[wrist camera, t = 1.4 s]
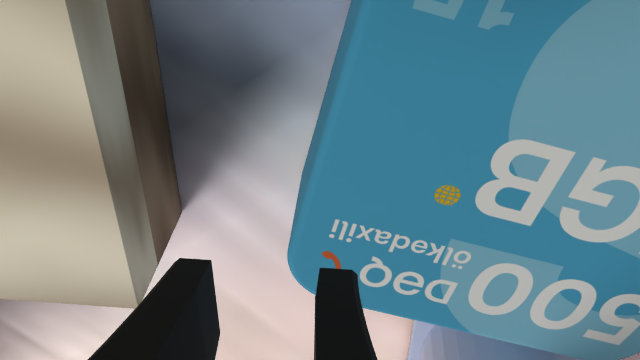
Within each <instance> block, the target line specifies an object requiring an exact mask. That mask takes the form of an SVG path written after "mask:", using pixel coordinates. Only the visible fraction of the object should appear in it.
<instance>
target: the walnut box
mask: <svg viewBox="0 0 640 360" xmlns="http://www.w3.org/2000/svg"><path fill="white" fill-rule="evenodd" d="M106 4H107V9H108V14H109V19H110V24H111V30H112V35H113V40H114V45H115V50H116V55H117V60H118V65H119V70H120V75H121V80H122V85H123V90H124V96H125V101H126V106H127V111H128V116H129V121H130V126H131V131H132V136H133V141H134V146H135V151H136V156H137V162H138V167H139V172H140V177H141V182H142V187H143V192H144V197H145V202H146V207H147V212H148V217H149V222H150V228H151V233H152V238H153V243H154V248H155V253H156V258H157V263H158V264H159V262H160V260H161V257H162V255H163V253H164V251H165V249H166V246H167V244H168V242H169V240H170V237H171V235H172V233H173V231H174V229H175V226H176V224H177V222H178V220H179V218H180V215H181V213H182V209H181V203H180V196H179V190H178V183H177V177H176V170H175V164H174V157H173V151H172V144H171V138H170V131H169V125H168V118H167V112H166V105H165V99H164V92H163V85H162V79H161V72H160V66H159V59H158V53H157V46H156V40H155V33H154V27H153V20H152V14H151V7H150V1H149V0H106Z"/></svg>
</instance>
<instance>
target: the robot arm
mask: <svg viewBox="0 0 640 360" xmlns="http://www.w3.org/2000/svg"><path fill="white" fill-rule="evenodd" d="M219 336H220V328H219V320H218V312H217V303H216V295H215V287H214V279H213V271H212V263H211V260H200V259H185V258H179V259H178V260H177V261H176V262H174V264H173V265H172V266H171V267H170V269H169V270H168V271H167V272H166V273H165V275H164V276H163V277H162V278H161V279H160V281H159V282H158V283H157V284H156V285H155V287H154V288H153V289H152V290H151V291H150V292H149V294H148V295H147V296H146V297H145V298H144V299H143V301H142V302H141V303H140V304H139V305H138V306H137V307H136V309H135V310H134V311H133V312H132V313H131V314H130V315H129V316H128V318H127V319H126V320H125V321H124V322H123V323H122V324H121V325H120V326H119V327H118V328H117V329H116V331H115V332H114V333H113V334H112V335H111V336H110V337H109V338H108V339H107V340H106V341H105V343H104V344H103V345H102V346H101V347H100V348H99V349H98V350H97V351H96V352H95V353H94V354H93V355H92V356H91V357H90V358H89V359H88V360H215V356H216V351H217V346H218V341H219ZM314 360H377V357H376V354H375V351H374V348H373V345H372V342H371V339H370V335H369V332H368V329H367V325H366V321H365V317H364V313H363V309H362V304H361V299H360V294H359V286H358V275H357V274H356V273H355V272H354V271H353V270H349V269H334V268H320V269H319V275H318V282H317V289H316V296H315V341H314ZM407 360H582V359H578V358H574V357H569V356H565V355H561V354H557V353H552V352H548V351H544V350H540V349H535V348H531V347H527V346H523V345H519V344H514V343H510V342H506V341H502V340H497V339H493V338H489V337H485V336H480V335H476V334H472V333H468V332H464V331H459V330H455V329H451V328H447V327H442V326H438V325H434V324H430V323H425V322H421V321H417V320H413V325H412V332H411V338H410V344H409V350H408V356H407Z"/></svg>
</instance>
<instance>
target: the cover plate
mask: <svg viewBox="0 0 640 360" xmlns="http://www.w3.org/2000/svg"><path fill="white" fill-rule="evenodd" d="M157 266H158V263H157V258H156V253H155V248H154V243H153V238H152V233H151V228H150V222H149V217H148V212H147V207H146V202H145V197H144V192H143V187H142V182H141V177H140V172H139V167H138V162H137V156H136V151H135V146H134V141H133V136H132V131H131V126H130V121H129V116H128V111H127V106H126V101H125V96H124V90H123V85H122V80H121V75H120V70H119V65H118V60H117V55H116V50H115V45H114V40H113V35H112V30H111V24H110V19H109V14H108V9H107V4H106V0H0V299H10V300H24V301H38V302H51V303H65V304H79V305H93V306H107V307H121V308H135V309H136V307H137V306H138V305H139V304H140V303H141V302H142V299H143V297H144V295H145V293H146V291H147V288H148V286H149V284H150V282H151V280H152V277H153V275H154V273H155V271H156V268H157Z"/></svg>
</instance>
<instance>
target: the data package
mask: <svg viewBox="0 0 640 360" xmlns="http://www.w3.org/2000/svg"><path fill="white" fill-rule="evenodd" d="M288 264H289V267H290V270H291V272H292V274H293V276H294V277H295V279H296V280H297V281H298V282H299V283H300V284H301V285H302V286H303V287H304V288H305V289H306V290H308V291H310V292H311V293H313V294H315V295H316V289H317V282H318V275H319V269H320V268H334V269H349V270H353V271H354V272H355V273H356V274H357V275H358V286H359V294H360V299H361V304H362V308H366V309H370V310H375V311H379V312H383V313H387V314H392V315H396V316H400V317H404V318H408V319H413V320H417V321H421V322H425V323H430V324H434V325H438V326H442V327H447V328H451V329H455V330H459V331H464V332H468V333H472V334H476V335H480V336H485V337H489V338H493V339H497V340H502V341H506V342H510V343H514V344H519V345H523V346H527V347H531V348H535V349H540V350H544V351H548V352H552V353H557V354H561V355H565V356H569V357H574V358H578V359H582V360H619V359H623V358H626V357H630V356H632V355H635V354H637V353H639V352H640V0H352V1H351V4H350V8H349V11H348V15H347V18H346V22H345V25H344V29H343V32H342V36H341V39H340V43H339V46H338V50H337V53H336V57H335V60H334V64H333V67H332V71H331V74H330V78H329V81H328V85H327V88H326V92H325V95H324V99H323V102H322V106H321V109H320V113H319V116H318V120H317V123H316V127H315V130H314V134H313V137H312V141H311V144H310V148H309V151H308V155H307V158H306V162H305V165H304V169H303V172H302V177H301V182H300V188H299V193H298V199H297V204H296V209H295V215H294V220H293V226H292V231H291V236H290V242H289V247H288Z"/></svg>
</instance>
